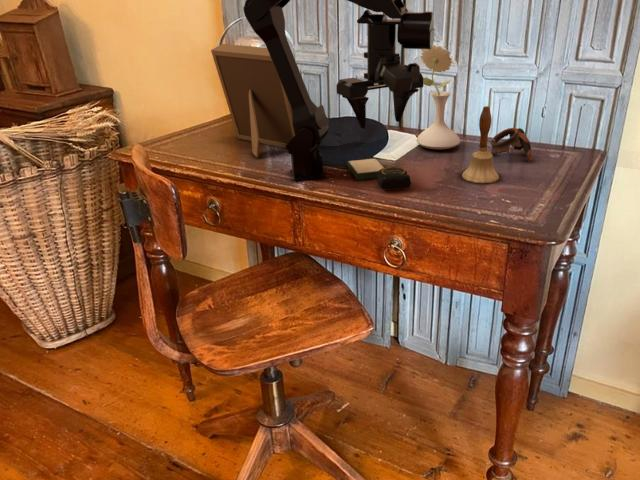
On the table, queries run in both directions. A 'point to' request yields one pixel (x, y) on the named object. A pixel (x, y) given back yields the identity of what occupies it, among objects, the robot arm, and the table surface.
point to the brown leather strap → (512, 142)
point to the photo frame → (254, 95)
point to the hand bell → (482, 155)
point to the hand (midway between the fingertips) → (380, 124)
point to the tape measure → (393, 178)
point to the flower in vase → (438, 103)
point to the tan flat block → (364, 168)
